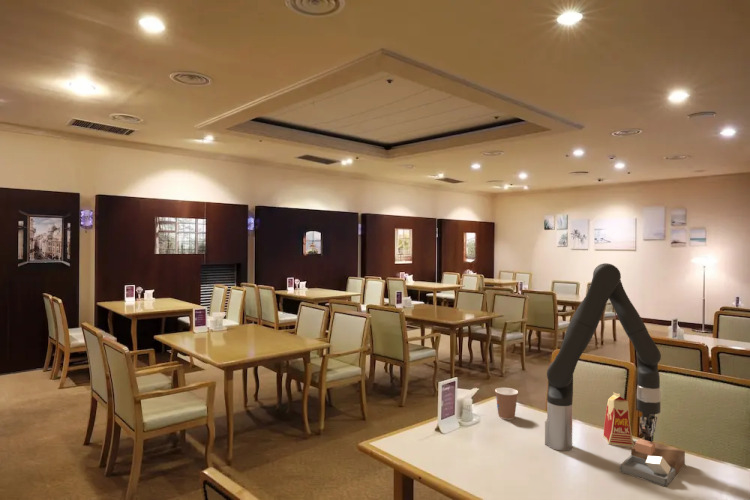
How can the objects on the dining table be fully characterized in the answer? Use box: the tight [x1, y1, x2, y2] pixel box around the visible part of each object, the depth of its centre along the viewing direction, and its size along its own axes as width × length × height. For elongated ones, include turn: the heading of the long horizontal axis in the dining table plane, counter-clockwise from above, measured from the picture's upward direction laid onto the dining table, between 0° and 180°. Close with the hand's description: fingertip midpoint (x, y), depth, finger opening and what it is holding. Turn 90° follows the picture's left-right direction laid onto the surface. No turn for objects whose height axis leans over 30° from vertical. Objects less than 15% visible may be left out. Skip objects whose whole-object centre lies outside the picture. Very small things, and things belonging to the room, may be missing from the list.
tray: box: [619, 454, 677, 487], centre depth 161 cm, size 14×11×2 cm
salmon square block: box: [634, 438, 656, 455], centre depth 167 cm, size 5×5×3 cm
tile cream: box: [645, 456, 671, 475], centre depth 158 cm, size 5×5×3 cm
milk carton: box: [603, 391, 635, 448], centre depth 188 cm, size 9×9×20 cm
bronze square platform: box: [630, 438, 686, 475], centre depth 169 cm, size 14×12×5 cm
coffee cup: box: [494, 387, 519, 420], centre depth 214 cm, size 10×10×12 cm
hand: (648, 445), depth 171 cm, fingers closed
